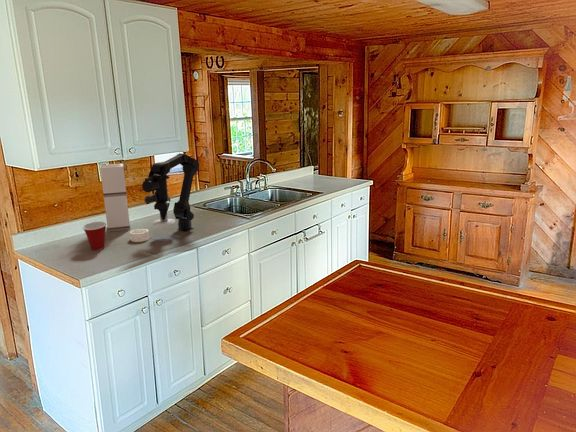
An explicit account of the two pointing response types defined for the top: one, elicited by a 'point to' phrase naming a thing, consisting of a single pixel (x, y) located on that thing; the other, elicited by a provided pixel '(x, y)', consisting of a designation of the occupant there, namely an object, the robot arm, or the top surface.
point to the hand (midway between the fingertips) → (164, 218)
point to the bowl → (139, 235)
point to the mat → (165, 237)
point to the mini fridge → (115, 197)
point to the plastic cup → (95, 234)
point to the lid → (163, 221)
